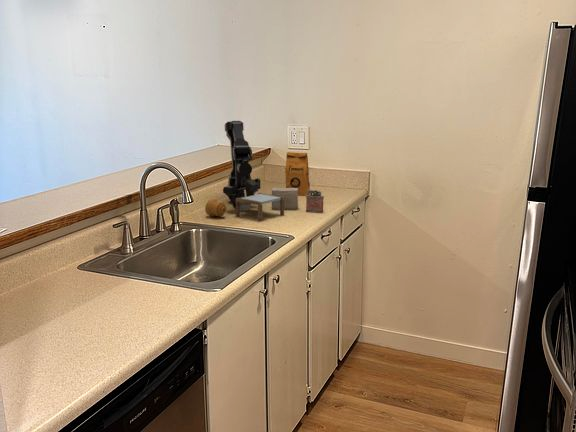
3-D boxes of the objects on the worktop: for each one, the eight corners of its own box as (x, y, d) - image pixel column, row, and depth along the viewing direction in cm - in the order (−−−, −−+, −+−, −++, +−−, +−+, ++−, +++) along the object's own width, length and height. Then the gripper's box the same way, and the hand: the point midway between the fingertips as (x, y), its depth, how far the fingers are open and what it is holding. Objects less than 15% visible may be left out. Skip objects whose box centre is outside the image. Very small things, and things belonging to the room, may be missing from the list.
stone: (234, 209, 257) (234, 198, 256) (242, 207, 261) (242, 197, 260) (242, 211, 254) (242, 200, 253) (250, 209, 258) (250, 198, 257)
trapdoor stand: (260, 221, 236) (260, 202, 234) (235, 216, 244) (235, 198, 243) (284, 215, 247) (284, 197, 245) (259, 210, 256) (259, 192, 254)
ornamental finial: (204, 217, 242) (203, 200, 240) (216, 214, 248) (216, 197, 246) (218, 220, 237) (217, 202, 236) (230, 217, 243) (230, 200, 241)
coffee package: (306, 198, 282) (306, 154, 277) (282, 196, 286) (282, 152, 281) (312, 194, 291) (312, 151, 286) (289, 193, 295) (289, 150, 290)
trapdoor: (261, 204, 236) (261, 201, 235) (240, 200, 243) (240, 197, 243) (280, 199, 244) (280, 197, 244) (259, 195, 252) (259, 193, 252)
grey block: (298, 205, 261) (297, 187, 256) (298, 209, 258) (297, 191, 253) (271, 205, 261) (271, 187, 256) (271, 209, 258) (270, 191, 253)
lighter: (324, 212, 253) (324, 190, 251) (322, 213, 250) (322, 191, 248) (307, 210, 256) (307, 188, 253) (304, 212, 253) (305, 190, 250)
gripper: (240, 177, 242) (240, 212, 245) (269, 171, 256) (269, 205, 259) (221, 174, 249) (222, 209, 252) (251, 169, 263) (251, 202, 266)
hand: (242, 206), depth 257 cm, fingers open, 9 cm apart
